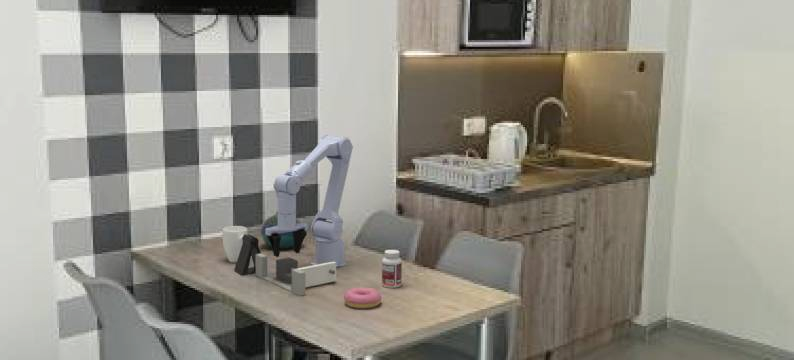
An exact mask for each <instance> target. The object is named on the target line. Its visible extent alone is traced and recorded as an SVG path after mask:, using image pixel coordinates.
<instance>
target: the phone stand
mask: <svg viewBox="0 0 794 360" xmlns="http://www.w3.org/2000/svg"><path fill="white" fill-rule="evenodd" d="M242 240H243V243H242V247H241V250H240V253H239V256H238V260H237V262H235V267H234V270H233V271H235V272H236V273H238V274H240V276H247V275H253V274H256V254H260V253H261V250H260V247H259V246H260V245H259V243H260V242H259V238H257V237H255V236H254V235H251V234H250V233H247V235H246V234H245V235H243V237H242ZM261 254H262V253H261ZM251 260H252V263H253V264H252V265H253V266H251V267H249V266H250V261H251Z"/></svg>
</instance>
